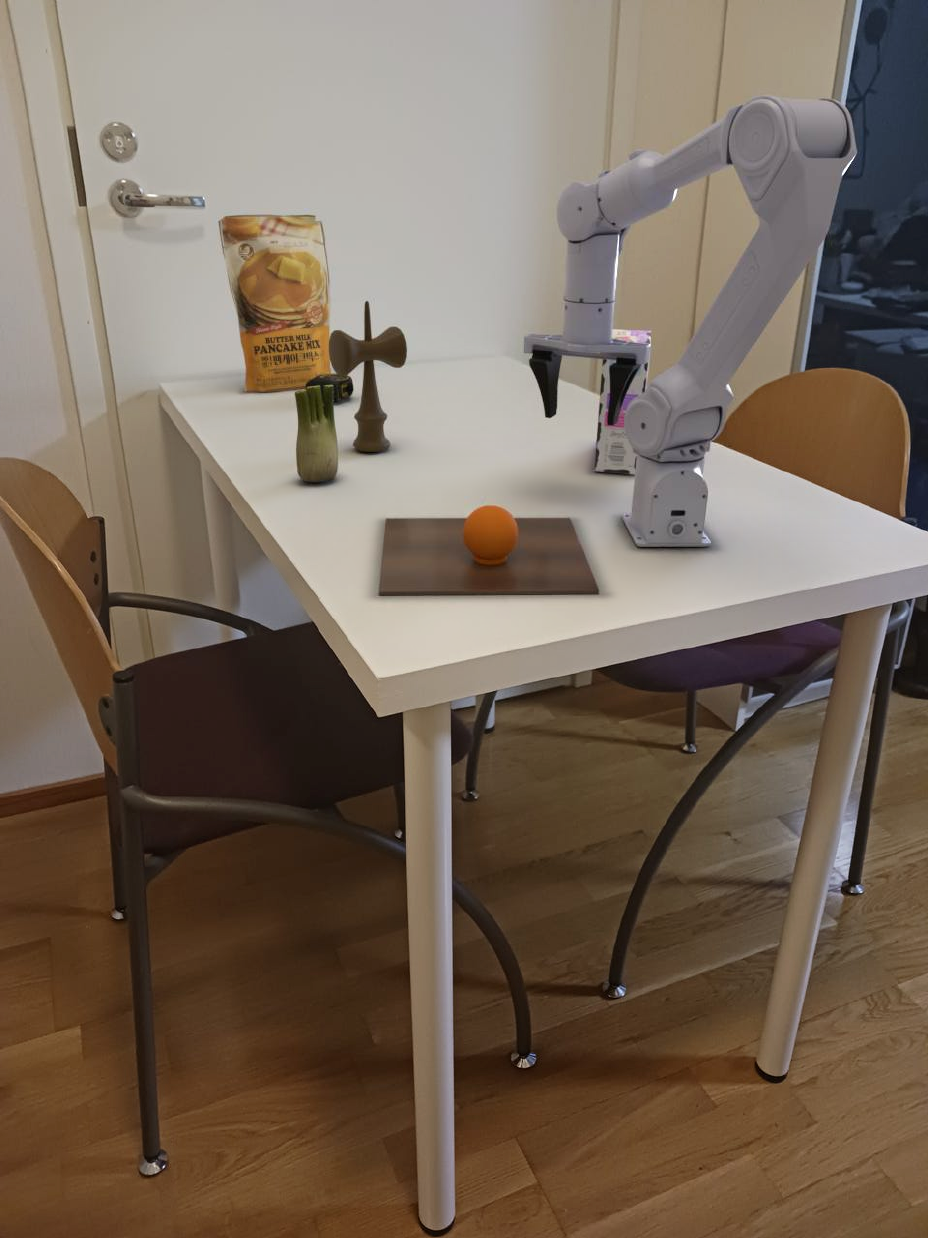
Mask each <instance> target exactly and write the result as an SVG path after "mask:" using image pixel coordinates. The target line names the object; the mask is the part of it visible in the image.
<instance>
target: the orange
mask: <svg viewBox="0 0 928 1238" xmlns="http://www.w3.org/2000/svg"><path fill="white" fill-rule="evenodd" d="M466 518H467V519H466V521H465V524H464V527H463V539H464V542H465V545H466V547H467V548H468V550H469V551H470V552H471V553H472V554H473V559H474V560H475V561H476V562H478V563H481V564H486V565H495V564H500V563H503V562H505V561H506V557H507V555H508V554H509V553H510V552H511V551H512V550H513V548H514V547H515V545H516V542H517V539H518V527H517V523H516V521H515V519H514V518H515V517H514V515H512V513H510V512H509V511H508V510H507V509H506V508H504V507H502V506H499V505H495V504H488V505H487V504H486V505H482V506H480V507H478V508H476V509H474V510H473V511H472V512H471V513H470V514H469V515H468V516H467V517H466Z"/></svg>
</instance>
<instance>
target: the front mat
mask: <svg viewBox="0 0 928 1238" xmlns="http://www.w3.org/2000/svg"><path fill="white" fill-rule="evenodd" d="M467 518H468V517H459V518H458V517H448V518H447V517H440V518H439V517H432V518H429V517H427V518H424V517H423V518H422V517H421V518H420V517H418V518H417V517H416V518H414V517H413V518H412V517H411V518H410V517H408V518H407V517H406V518H402V517H401V518H399V517H398V518H396V517H395V518H394V517H393V518H391V517H390V518H388V517H387V518H385V525H384V536H383V545H382V557H381V565H380V566H381V567H380V575H379V576H380V577H379V588H378V595H379V596H440V595H441V596H443V595H444V596H447V595H450V596H451V595H453V596H458V595H459V596H460V595H461V596H462V595H463V596H465V595H466V596H468V595H597V594H598V595H599V594H600V589H599V586H598V584H597V582H596V579H595V575H594V574H593V571H592V569H591V566H590V564H589V561H588V559H587V556H586V553H585V551H584V548H583V546H582V543H581V542H580V539H579V536H578V534H577V532H576V528H575V526H574V524H573V521H572V519H571V517H513V518H514V519H515V521H516V523H517V527H518V539H517V542H516V545H515V547H514V548H513V550H512V551H511V552H510V553H509V554H508V555H507V557H506V561H505V562H503V563H500V564H495V565H486V564H481V563H478V562H476V561H475V560H474V559H473V554H472V553H471V552H470V551H469V550H468V548H467V547H466V545H465V542H464V539H463V527H464V524H465V521H466V519H467Z"/></svg>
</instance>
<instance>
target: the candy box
mask: <svg viewBox="0 0 928 1238" xmlns="http://www.w3.org/2000/svg"><path fill="white" fill-rule="evenodd" d="M612 339H617V340H623V341H629V342H636V343H643V344H650V345H651V347H652V344H651V343H652V331H651V330H641V329H639V330H638V329H620V328H619V329H615V328H613V329H612ZM651 347H650V351H651ZM650 360H651V356H650V357H649V362H647V363H646V364H641V366H640V369H639V370H638V372H637V374H636V375H635V377H634V379H633V381H632V383H631V385H630V387H629V389H628V391H627V393H626V396H625V398H624V401H623V404H622V407H621V410H620V414H619V418H618V422H617V423H616V424H615V425H613V426H612V425H607V416H608V408H609V400H610V375H609V366H610V365H612V364H613V363H616V360H606V359H602V362H601V363H602V364H601V365H602V368H601V375H600V376H601V377H600V390H599V405H598V416H597V428H596V429H597V431H596V442H595V457H594V472H601V473H611V474H624V475H634V476H635V471H636V460H637V454H636V453H633V447H632V446H631V445H630V443H629V441H628V439H627V436H626V433H625V428H624V418H625V412H626V409H627V407H628V405H629V403H630V402H631V401H632V400H633V399H634V398H636V397H637V396H639V395H641V394H642V393H644V392H645V391H646V389H647V388H648V381H649V370H650V362H651V361H650Z"/></svg>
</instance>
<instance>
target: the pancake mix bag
mask: <svg viewBox="0 0 928 1238" xmlns="http://www.w3.org/2000/svg"><path fill="white" fill-rule="evenodd" d="M217 223H218V229H219V237H220V241H221V242H220V243H221V248H222V249H221V250H222V255H223V258H224V260H225V266H226V272H227V278H228V283H229V284H228V285H229V288H230V293H231V298H232V301H233V304H234V308H235V311H236V315H237V322H238V330H239V338H240V339H239V340H240V345H241V348H242V353H243V357H244V365H245V377H244V378H245V379H244V386H243V387H244V388H243V392H251V393H252V392H254V393H271V392H284V391H293V390H302V389H306V383H307V382H308V381H309V380H311V379H313V378H315V377H317V376H319V375H323V374H332V371H331V361H330V357H329V339H330V335H331V293H330V292H331V291H330V283H331V282H330V281H331V280H330V272H329V264H328V256H327V250H326V238H325V237H326V236H325V231H324V226H323V221H322V220H316V215H315V214H314V215H313V214H291V215H290V214H289V215H288V214H287V215H281V214H279V215H278V214H237V215H235V214H234V215H225V216H223V217H222V218H221V219H219V220H218V222H217Z"/></svg>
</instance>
